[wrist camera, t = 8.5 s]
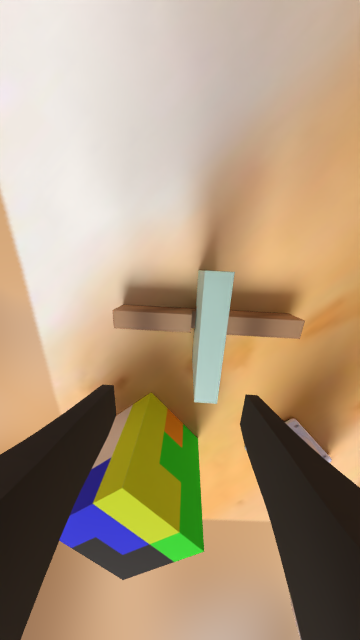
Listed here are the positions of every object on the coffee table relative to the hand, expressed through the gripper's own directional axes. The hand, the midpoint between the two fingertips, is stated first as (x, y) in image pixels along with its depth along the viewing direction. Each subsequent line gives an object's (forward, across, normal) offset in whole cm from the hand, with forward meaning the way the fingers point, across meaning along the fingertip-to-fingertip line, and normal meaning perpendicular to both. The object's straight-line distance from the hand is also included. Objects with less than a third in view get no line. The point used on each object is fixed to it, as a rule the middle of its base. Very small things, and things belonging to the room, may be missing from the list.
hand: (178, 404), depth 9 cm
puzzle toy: (+11, +4, +16) cm, 19 cm away
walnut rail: (+10, -2, -2) cm, 11 cm away
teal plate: (+10, -2, -2) cm, 11 cm away
